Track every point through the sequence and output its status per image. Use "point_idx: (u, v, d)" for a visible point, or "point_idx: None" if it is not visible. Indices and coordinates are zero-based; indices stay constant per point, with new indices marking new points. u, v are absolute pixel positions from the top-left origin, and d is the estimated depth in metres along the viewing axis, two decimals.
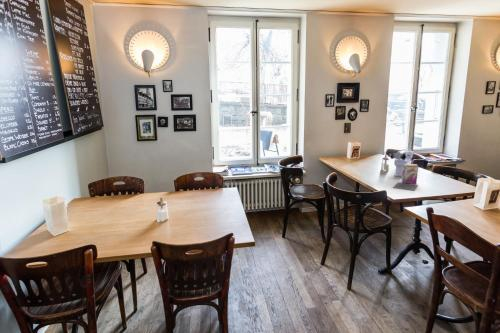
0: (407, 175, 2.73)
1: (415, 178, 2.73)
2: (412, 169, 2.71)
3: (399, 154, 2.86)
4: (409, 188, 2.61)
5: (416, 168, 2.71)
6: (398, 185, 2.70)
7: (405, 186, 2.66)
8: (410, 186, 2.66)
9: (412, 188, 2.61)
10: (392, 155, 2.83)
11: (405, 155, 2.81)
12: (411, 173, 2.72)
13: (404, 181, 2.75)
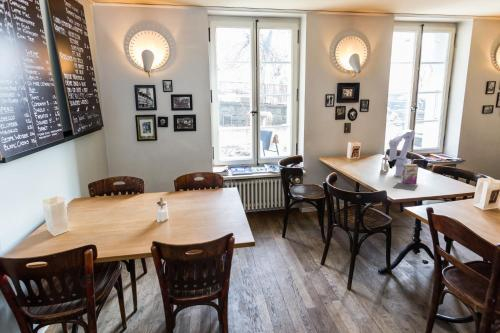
0: (407, 175, 2.73)
1: (415, 178, 2.73)
2: (412, 169, 2.71)
3: None
4: (409, 188, 2.61)
5: (416, 168, 2.71)
6: (398, 185, 2.70)
7: (405, 186, 2.66)
8: (410, 186, 2.66)
9: (412, 188, 2.61)
10: None
11: (389, 161, 2.83)
12: (411, 173, 2.72)
13: (404, 181, 2.75)
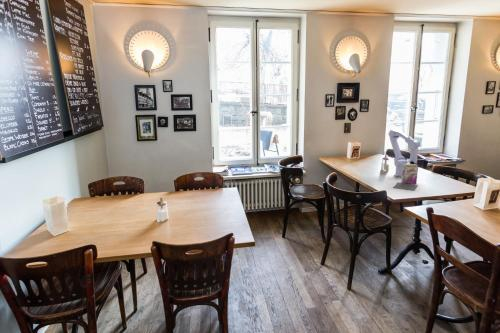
0: (407, 175, 2.73)
1: (415, 178, 2.73)
2: (412, 169, 2.71)
3: None
4: (409, 188, 2.61)
5: (416, 168, 2.71)
6: (398, 185, 2.70)
7: (405, 186, 2.66)
8: (410, 186, 2.66)
9: (412, 188, 2.61)
10: None
11: (412, 162, 2.80)
12: (411, 173, 2.72)
13: (404, 181, 2.75)
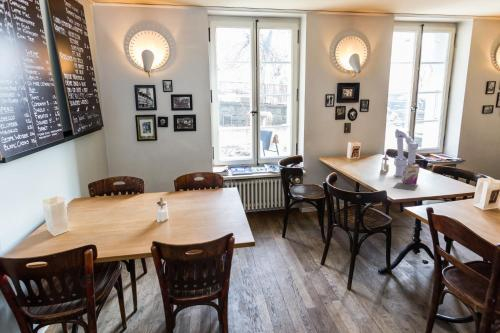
0: (408, 176, 2.72)
1: (415, 178, 2.72)
2: (413, 170, 2.69)
3: None
4: (409, 188, 2.61)
5: (417, 169, 2.68)
6: (398, 185, 2.70)
7: (405, 186, 2.66)
8: (410, 186, 2.66)
9: (412, 188, 2.61)
10: None
11: None
12: (412, 174, 2.71)
13: (404, 181, 2.75)
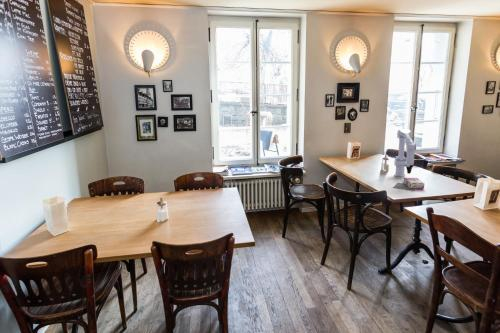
0: None
1: None
2: None
3: None
4: (409, 188, 2.61)
5: None
6: (398, 185, 2.70)
7: (405, 186, 2.66)
8: None
9: None
10: None
11: None
12: None
13: None
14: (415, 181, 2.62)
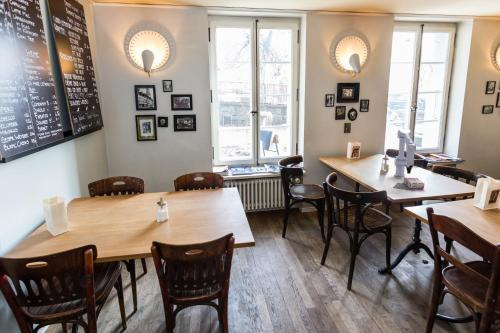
0: None
1: None
2: None
3: None
4: (409, 188, 2.61)
5: None
6: (398, 185, 2.70)
7: (405, 186, 2.66)
8: None
9: None
10: None
11: (407, 166, 2.68)
12: None
13: None
14: (415, 181, 2.62)
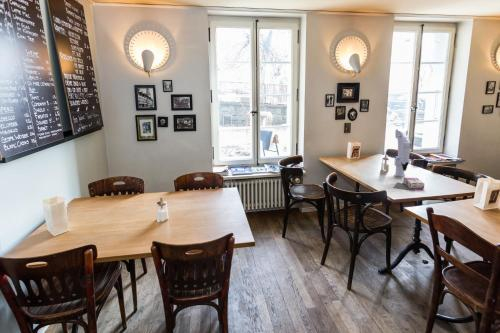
0: None
1: None
2: None
3: None
4: (409, 188, 2.61)
5: None
6: (398, 185, 2.70)
7: (405, 186, 2.66)
8: None
9: None
10: (403, 169, 2.81)
11: (403, 163, 2.78)
12: None
13: None
14: (415, 181, 2.62)
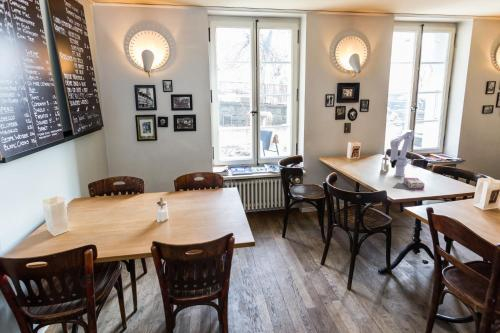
0: None
1: None
2: None
3: None
4: (409, 188, 2.61)
5: None
6: (398, 185, 2.70)
7: (405, 186, 2.66)
8: None
9: None
10: None
11: (391, 161, 2.85)
12: None
13: None
14: (415, 181, 2.62)
